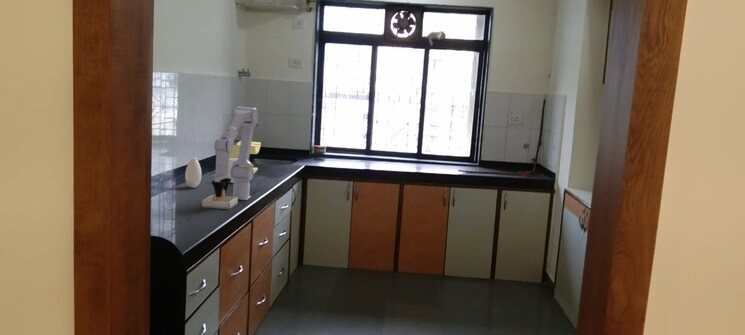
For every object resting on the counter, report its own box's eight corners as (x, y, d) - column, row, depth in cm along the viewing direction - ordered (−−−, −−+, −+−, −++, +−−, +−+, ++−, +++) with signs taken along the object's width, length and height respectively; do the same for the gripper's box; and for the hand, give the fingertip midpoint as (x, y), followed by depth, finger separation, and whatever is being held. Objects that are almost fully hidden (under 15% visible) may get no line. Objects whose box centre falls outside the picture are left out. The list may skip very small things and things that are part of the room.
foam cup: (222, 181, 321) (223, 158, 319) (237, 180, 327) (238, 157, 325) (231, 183, 314) (232, 160, 312) (245, 183, 320) (247, 160, 319)
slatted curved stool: (235, 167, 380) (236, 140, 378) (259, 168, 382) (260, 142, 380) (227, 173, 351) (228, 144, 348) (253, 175, 352) (255, 146, 350)
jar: (217, 202, 258) (218, 187, 257) (225, 203, 257) (226, 188, 257) (213, 203, 254) (214, 189, 253) (222, 204, 254) (223, 190, 253)
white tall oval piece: (196, 189, 288) (197, 154, 286) (181, 187, 290) (183, 152, 288) (203, 187, 296) (205, 153, 294) (189, 185, 297) (191, 151, 295)
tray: (211, 201, 263) (212, 194, 262) (237, 203, 263) (238, 197, 262) (202, 207, 249) (202, 200, 249) (229, 209, 249) (229, 202, 248)
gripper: (218, 162, 261) (216, 192, 263) (208, 166, 246) (206, 197, 248) (233, 164, 261) (232, 193, 262) (224, 168, 246) (223, 199, 248)
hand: (220, 195), depth 255 cm, fingers open, 7 cm apart
